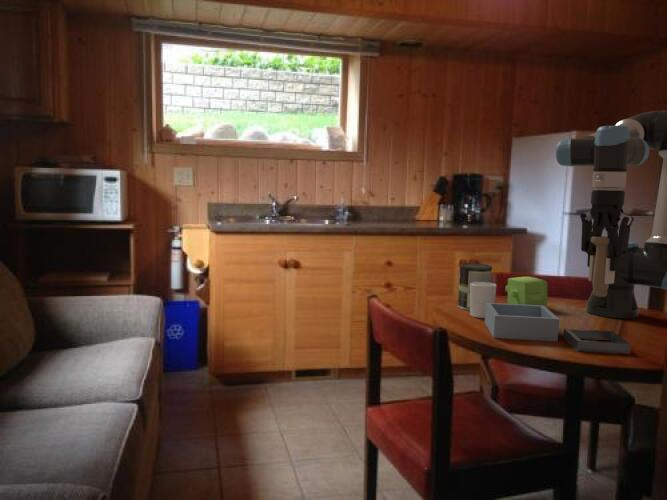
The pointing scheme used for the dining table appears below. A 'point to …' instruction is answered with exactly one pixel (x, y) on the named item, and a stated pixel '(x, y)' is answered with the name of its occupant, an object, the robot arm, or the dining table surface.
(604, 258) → the handle
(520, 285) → the gearbox
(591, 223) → the robot arm
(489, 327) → the bin
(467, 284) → the coffee can
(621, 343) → the flat grey tray
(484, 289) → the white cup
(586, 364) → the dining table surface
